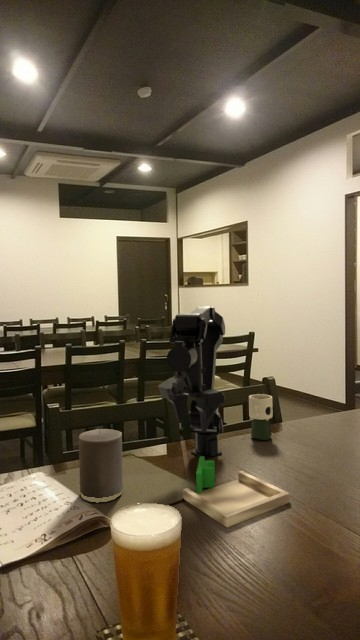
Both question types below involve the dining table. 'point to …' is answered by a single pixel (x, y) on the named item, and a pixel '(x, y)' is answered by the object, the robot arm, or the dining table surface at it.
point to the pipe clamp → (205, 474)
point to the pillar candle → (100, 463)
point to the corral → (238, 499)
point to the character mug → (260, 415)
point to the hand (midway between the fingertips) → (192, 427)
